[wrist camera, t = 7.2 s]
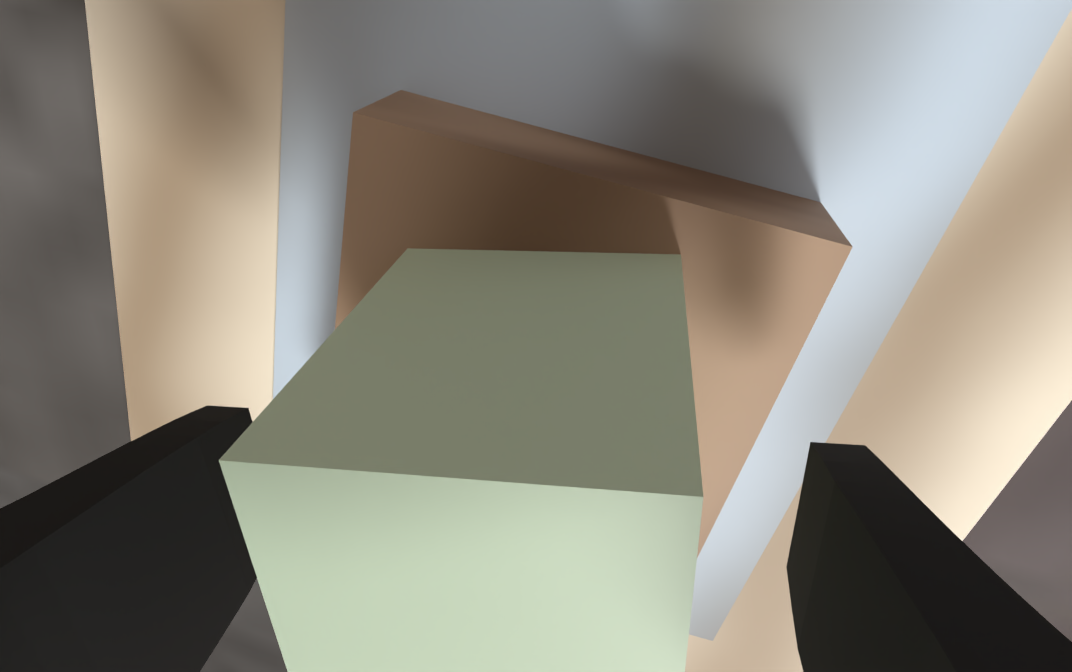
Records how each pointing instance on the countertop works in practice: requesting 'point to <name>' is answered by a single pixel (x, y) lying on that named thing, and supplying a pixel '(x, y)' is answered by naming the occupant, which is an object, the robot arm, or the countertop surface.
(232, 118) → the build board
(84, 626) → the robot arm
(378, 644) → the green block
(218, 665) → the countertop surface
